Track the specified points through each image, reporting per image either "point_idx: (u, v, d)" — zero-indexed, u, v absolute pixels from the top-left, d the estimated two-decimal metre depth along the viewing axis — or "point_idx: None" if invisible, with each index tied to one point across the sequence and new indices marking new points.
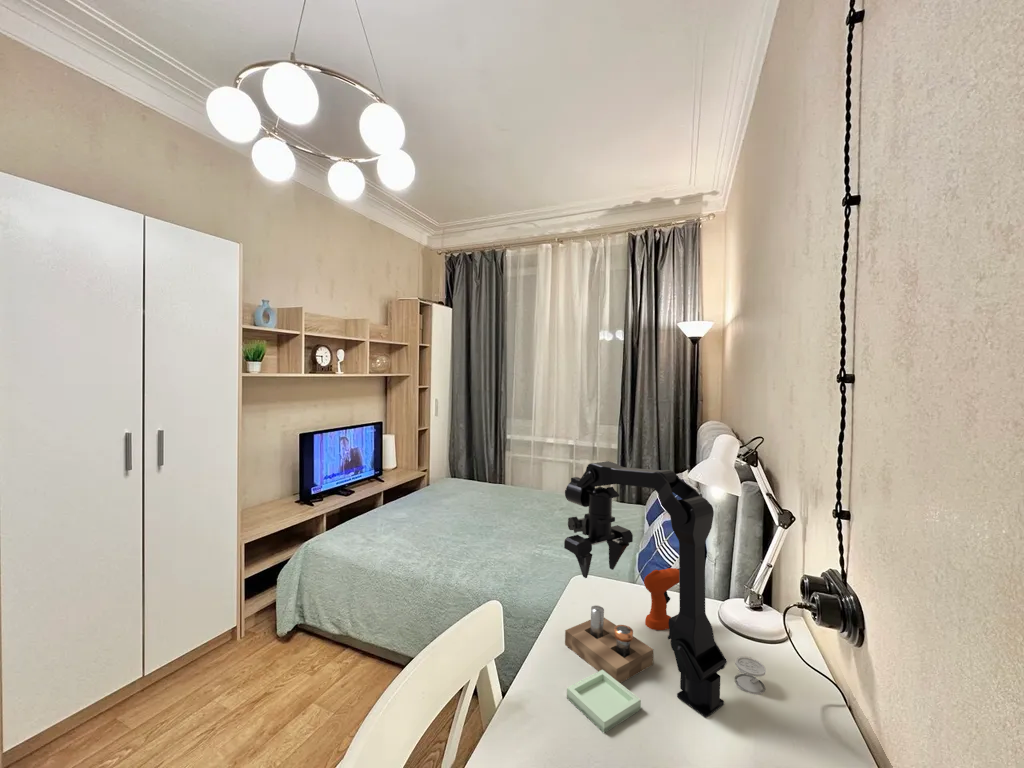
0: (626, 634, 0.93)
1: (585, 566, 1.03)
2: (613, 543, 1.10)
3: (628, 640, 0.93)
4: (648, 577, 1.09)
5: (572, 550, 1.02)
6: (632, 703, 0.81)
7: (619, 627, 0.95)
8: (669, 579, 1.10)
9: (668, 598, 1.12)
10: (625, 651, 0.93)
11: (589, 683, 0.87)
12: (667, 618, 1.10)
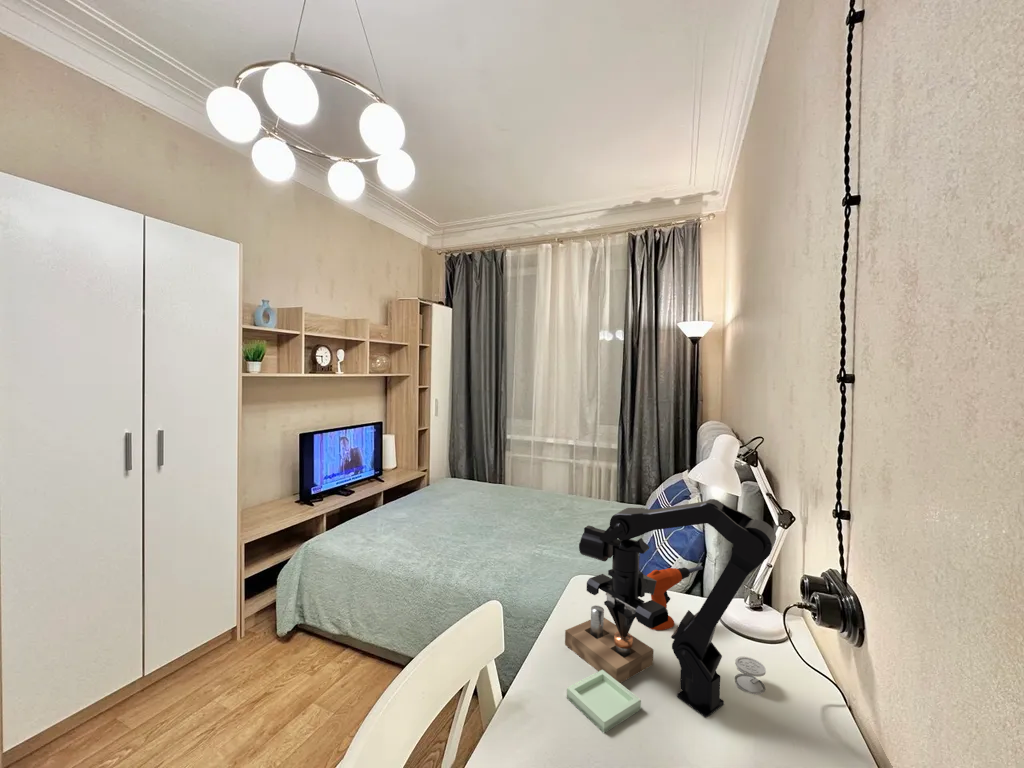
0: (626, 641, 0.93)
1: None
2: None
3: (628, 647, 0.93)
4: None
5: None
6: (632, 703, 0.81)
7: (618, 634, 0.95)
8: (669, 579, 1.10)
9: (668, 598, 1.12)
10: None
11: (589, 683, 0.87)
12: None
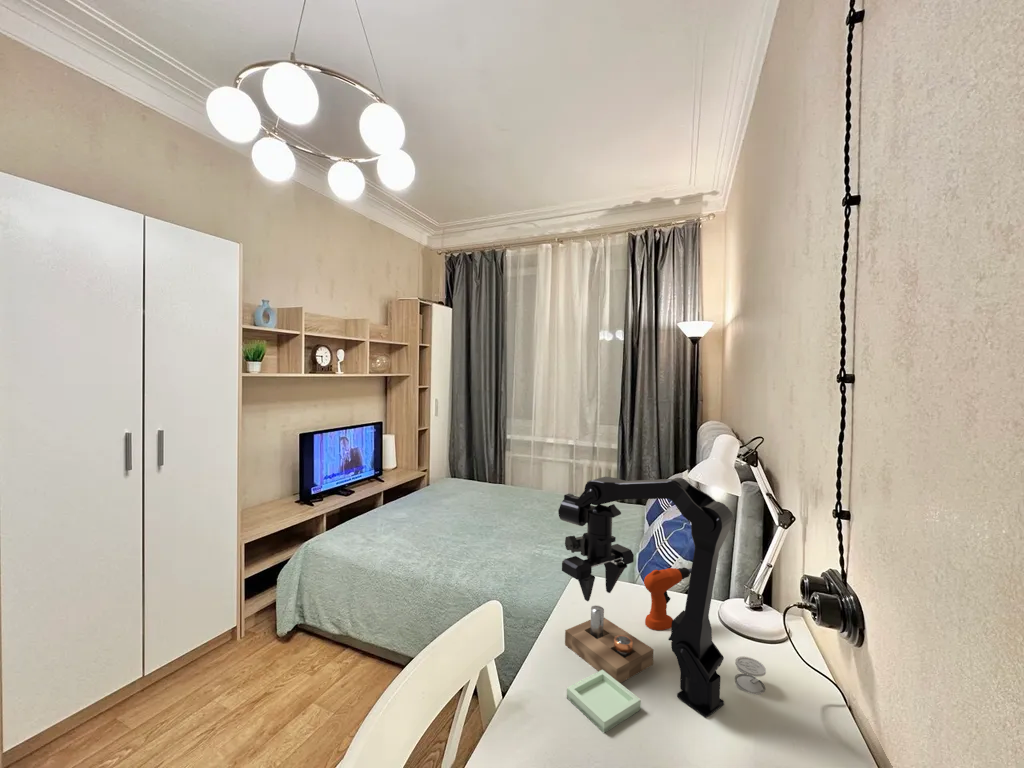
0: (626, 645, 0.93)
1: (587, 589, 0.97)
2: (610, 564, 1.03)
3: (628, 651, 0.93)
4: (648, 577, 1.09)
5: (570, 573, 0.95)
6: (632, 703, 0.81)
7: (618, 637, 0.95)
8: (669, 579, 1.10)
9: (668, 598, 1.12)
10: None
11: (589, 683, 0.87)
12: (667, 618, 1.10)
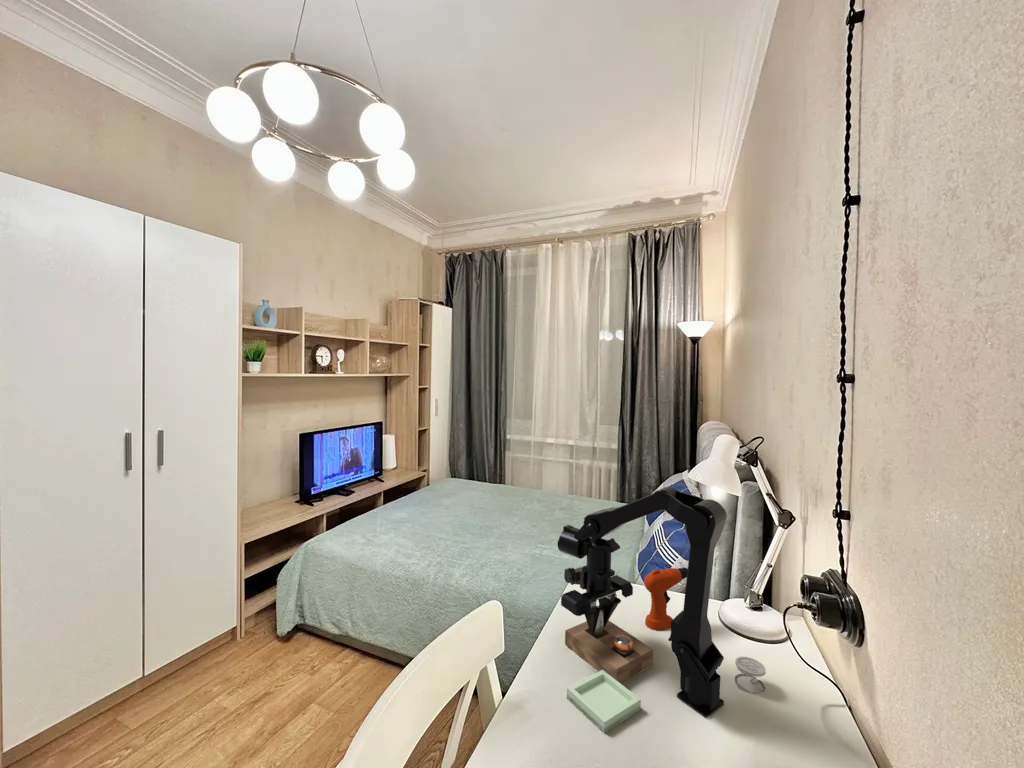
0: (626, 645, 0.93)
1: (592, 621, 0.98)
2: (604, 599, 1.02)
3: (628, 651, 0.93)
4: (648, 577, 1.09)
5: (570, 609, 0.95)
6: (632, 703, 0.81)
7: (618, 637, 0.95)
8: (669, 579, 1.10)
9: (668, 598, 1.12)
10: None
11: (589, 683, 0.87)
12: (667, 618, 1.10)
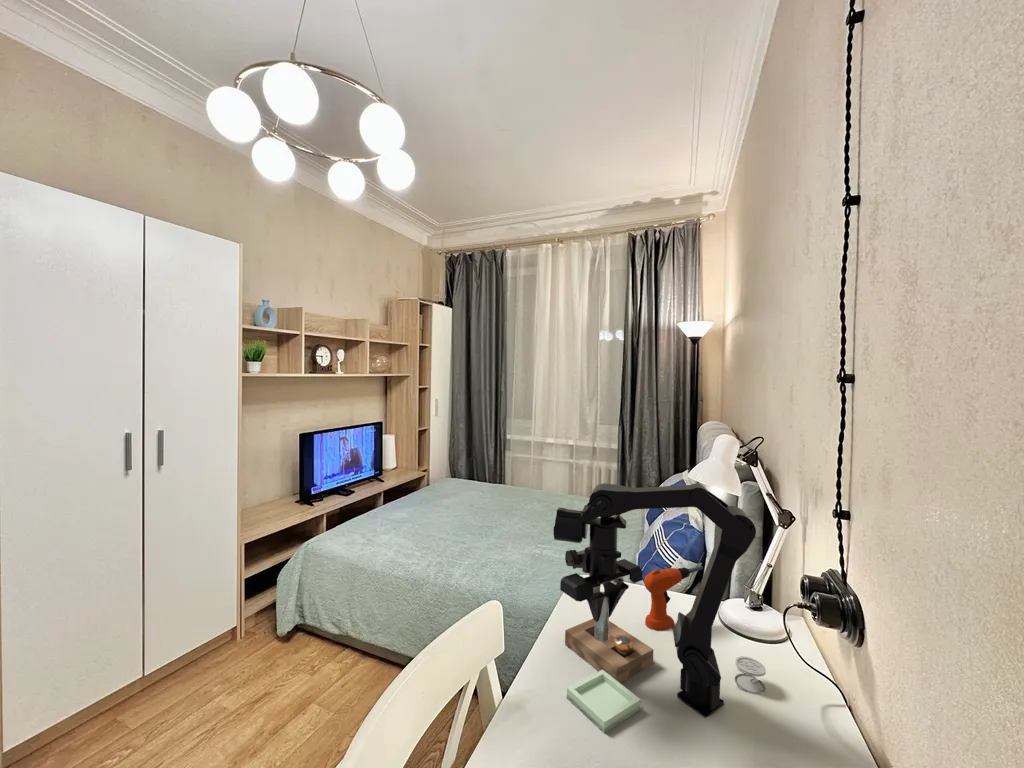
0: (626, 645, 0.93)
1: (596, 608, 0.87)
2: (609, 585, 0.91)
3: (628, 651, 0.93)
4: (648, 577, 1.09)
5: (569, 594, 0.85)
6: (632, 703, 0.81)
7: (618, 637, 0.95)
8: (669, 579, 1.10)
9: (668, 598, 1.12)
10: None
11: (589, 683, 0.87)
12: (667, 618, 1.10)
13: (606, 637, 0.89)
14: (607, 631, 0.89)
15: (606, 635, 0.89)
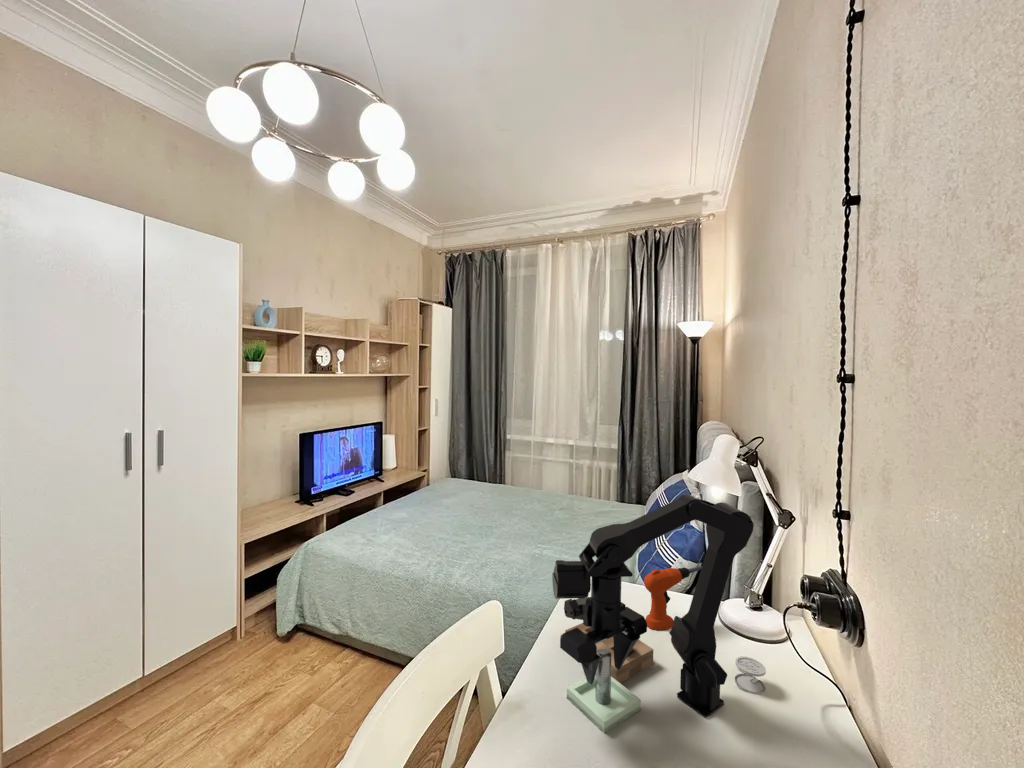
0: None
1: (590, 671, 0.79)
2: (619, 634, 0.86)
3: None
4: (648, 577, 1.09)
5: (571, 653, 0.77)
6: (632, 703, 0.81)
7: None
8: (669, 579, 1.10)
9: (668, 598, 1.12)
10: None
11: None
12: (667, 618, 1.10)
13: (609, 700, 0.82)
14: (609, 693, 0.82)
15: (608, 698, 0.82)
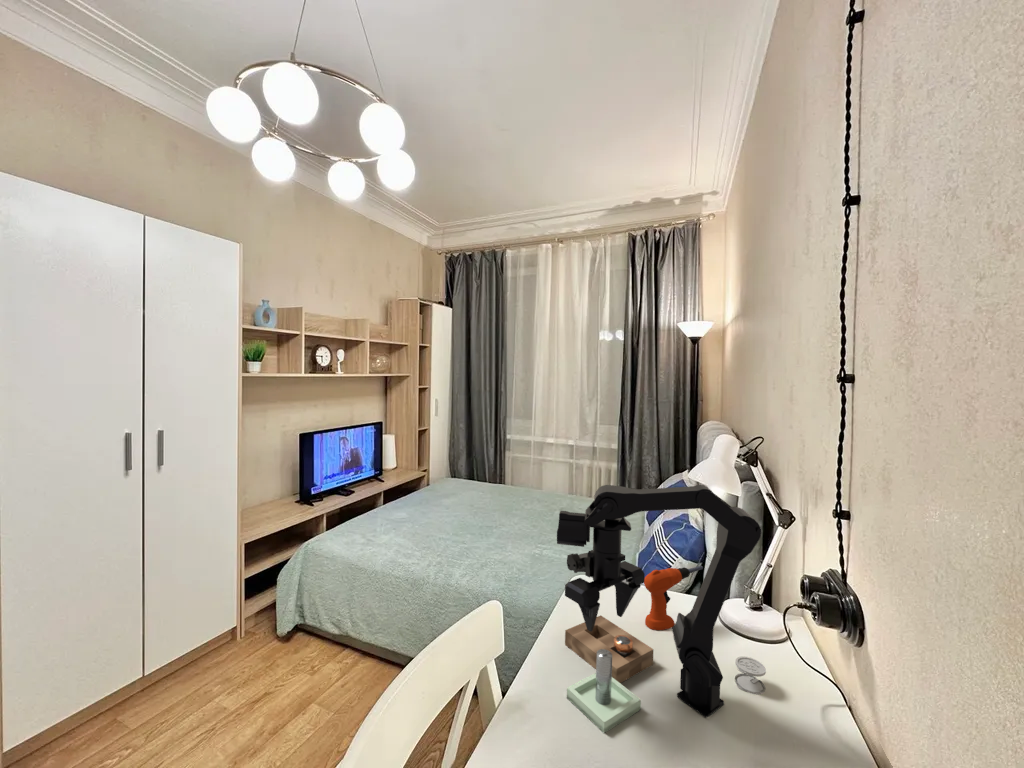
0: (626, 645, 0.93)
1: (591, 618, 0.84)
2: (621, 584, 0.91)
3: (628, 651, 0.93)
4: (648, 577, 1.09)
5: (575, 599, 0.82)
6: (632, 703, 0.81)
7: (618, 637, 0.95)
8: (669, 579, 1.10)
9: (668, 598, 1.12)
10: None
11: (589, 683, 0.87)
12: (667, 618, 1.10)
13: (609, 700, 0.82)
14: (610, 693, 0.82)
15: (608, 698, 0.82)
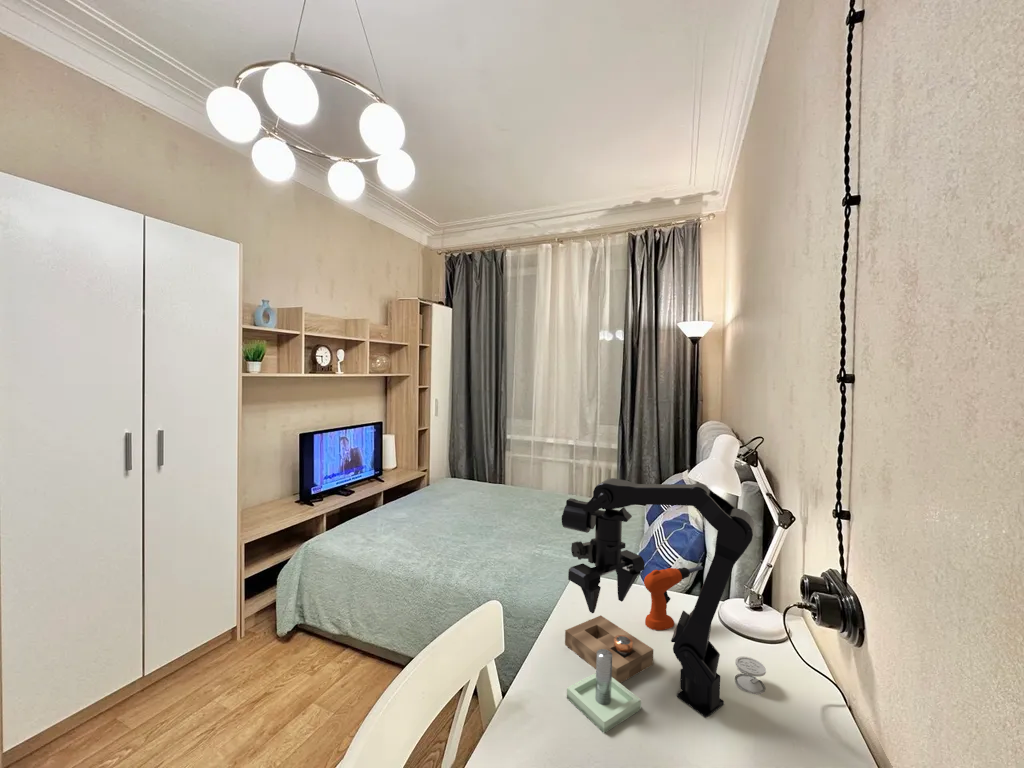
0: (626, 645, 0.93)
1: (592, 600, 0.90)
2: (622, 571, 0.98)
3: (628, 651, 0.93)
4: (648, 577, 1.09)
5: (578, 582, 0.89)
6: (632, 703, 0.81)
7: (618, 637, 0.95)
8: (669, 579, 1.10)
9: (668, 598, 1.12)
10: None
11: (589, 683, 0.87)
12: (667, 618, 1.10)
13: (609, 700, 0.82)
14: (610, 693, 0.82)
15: (609, 698, 0.82)
